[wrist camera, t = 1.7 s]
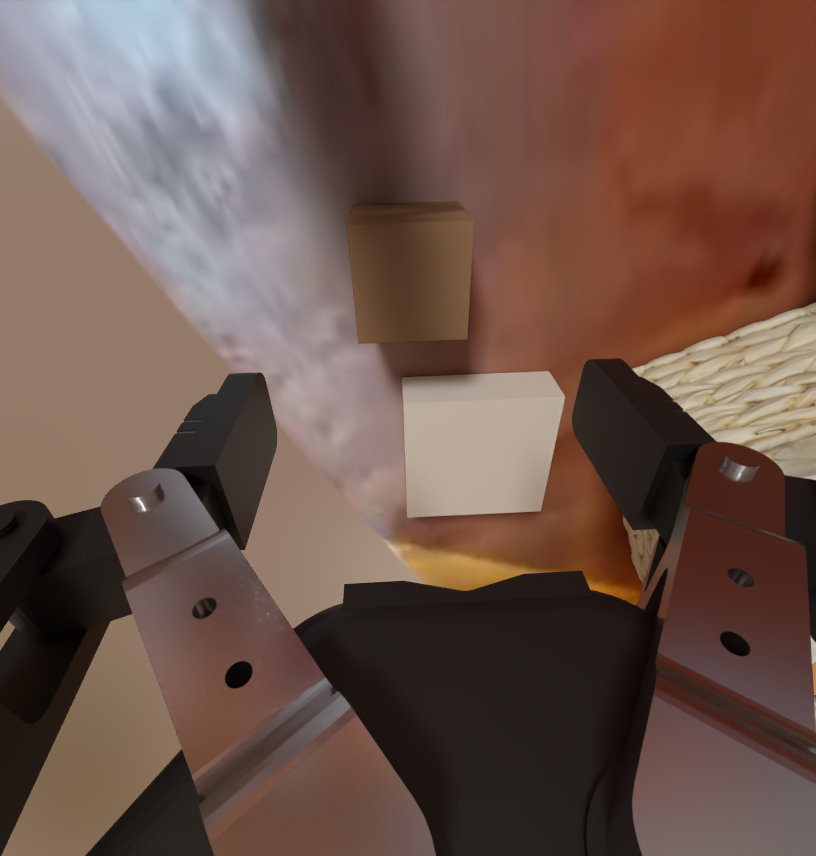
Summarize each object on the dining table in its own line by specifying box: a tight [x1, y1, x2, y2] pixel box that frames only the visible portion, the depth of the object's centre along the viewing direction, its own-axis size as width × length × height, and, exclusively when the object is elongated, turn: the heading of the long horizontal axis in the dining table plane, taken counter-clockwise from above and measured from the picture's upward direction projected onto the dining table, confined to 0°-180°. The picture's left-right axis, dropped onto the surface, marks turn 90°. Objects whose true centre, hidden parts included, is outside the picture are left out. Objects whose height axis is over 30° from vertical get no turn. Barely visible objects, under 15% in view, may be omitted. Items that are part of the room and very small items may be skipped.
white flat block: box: [402, 371, 565, 518], centre depth 28 cm, size 9×9×3 cm
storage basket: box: [623, 302, 816, 726], centre depth 26 cm, size 24×16×15 cm
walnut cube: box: [347, 201, 474, 344], centre depth 21 cm, size 5×5×5 cm
